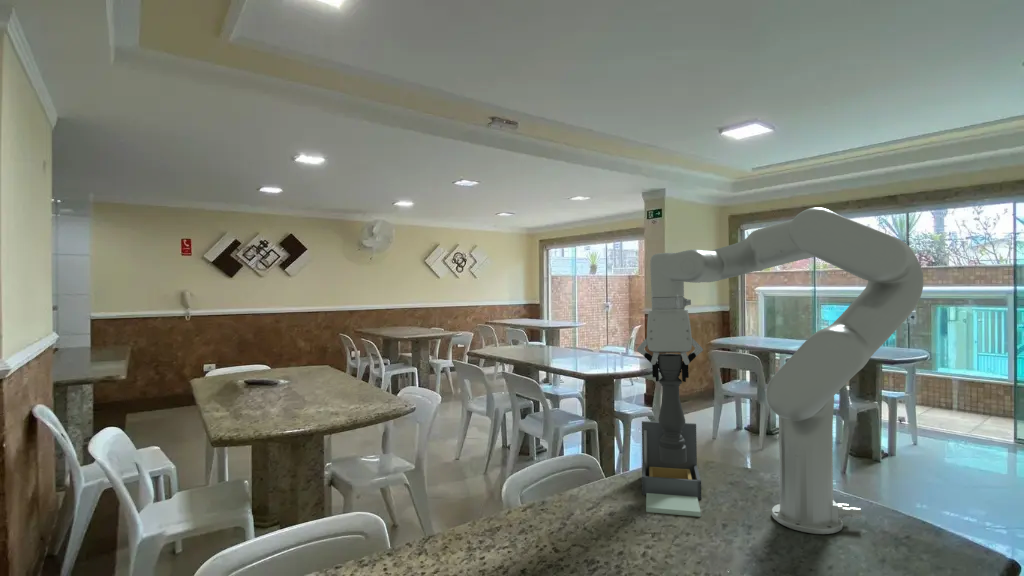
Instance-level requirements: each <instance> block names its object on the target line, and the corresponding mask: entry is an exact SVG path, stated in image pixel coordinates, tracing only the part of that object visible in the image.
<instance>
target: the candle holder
mask: <svg viewBox="0 0 1024 576" xmlns="http://www.w3.org/2000/svg"><path fill="white" fill-rule="evenodd" d="M682 361H683V359H682V356H681V353H659V355H658V358H657V364H658V369H659V374H660V375H661V377H660V378H659V381H658V382H659V384H660V385H661V386H662V389H661V390H662V392H661V393H662V398H661V399H662V400H661V405H660V410H659V415H658V422H659V424H660V426H661V428H662V429H663V430H662V431H663V433H664V434H663V435H662V437H661V438H660V441H661V444H660V445H659V454H660V461H662V462H664V463H668V464H683V463H686V462H687V452H686V446H685V445H684V443H685V440H684V438H683V437H682V435H681V433H682V431H681V430H682V429H683V428H684V426H685V423H686V419H685V418H686V417H685V414H684V411H683V406H682V404H681V399H680V386H681V385H682V384H683V381H682V378H680V376H681V374H682Z"/></svg>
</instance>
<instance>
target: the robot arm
mask: <svg viewBox="0 0 1024 576" xmlns="http://www.w3.org/2000/svg"><path fill="white" fill-rule="evenodd" d="M814 257H815V258H817V259H819V260H821V261H823V262H825V263H827V264H830V265H832V266H834V267H836V268H839V269H840V270H843V271H844V272H847V273H849V274H852V275H853V276H856V277H858V278H859V279H862V280H865V281H867V283H866V286H865V288H864V289H863V290H862V292H861V293H859V295H858V296H857V297H856V298H855V299H854V300H853V301H852V302H851V303H850V305H849V306H848V307H847V308H846V309H845V310H844V311H843V312H842V314H840V315H839V317H838V318H837V319H835V320H834V321H833V322H832V324H830V325H829V326H827V327H824V328H822V329H820V330H817V331H816V332H814V333H813V334H812V335H810V336H809V337H808V338H807V339H806V340H805V341H803V343H802V344H801V346H799V348H798V349H797V350H795V352H794V353H793V354H792V356H791V357H789V358H788V360H787V361H785V363H784V364H783V365H782V366H781V368H779V370H777V372H776V373H774V374H773V376H772V378H771V379H770V380H769V382H768V384H767V386H766V390H765V391H766V392H765V393H766V395H765V396H766V400H767V403H768V406H769V407H770V409H771V411H772V412H773V413H775V414H776V415H777V416H778V417H779V421H778V422H779V424H778V426H779V427H778V459H779V460H778V461H779V462H778V464H779V465H778V467H779V468H778V469H779V503H778V504H775V505H774V506H773V507H772V508H771V517H772V518H773V519H774V520H775V521H776V522H777V523H778V524H781V525H782V526H784V527H787V528H788V529H791V530H795V531H799V532H802V533H806V534H807V533H808V534H814V535H830V534H835V533H839V532H840V531H842V529H843V528H844V522H843V519H844V518H851V519H862V517H863V513H862V510H861V508H860V507H859V508H858V507H850V505H849V503H837V502H836V501H835V499H834V468H833V467H834V465H833V463H834V462H833V457H834V455H833V453H834V452H833V449H834V447H833V445H834V443H833V442H834V439H833V438H834V437H833V431H834V430H833V428H834V427H833V424H834V411H835V408H834V407H835V395H836V394H837V393H839V392H840V390H842V388H843V387H844V386H845V385H846V384H848V382H849V381H850V380H851V379H852V378H853V377H854V376H856V374H857V373H859V372H860V371H861V370H862V369H864V367H865V366H866V365H867V363H868V362H869V360H870V359H871V357H873V355H874V354H875V353H876V352H877V351H878V350H879V349H880V348H881V347H882V346H883V345H884V344H885V342H886V341H888V340H889V338H890V337H892V335H893V334H894V333H895V332H896V331H897V330H898V328H900V327H901V326H902V324H903V323H904V322H905V321H906V320H907V319H908V318H909V317H910V316H911V314H912V313H913V311H914V310H915V309H916V307H917V305H918V304H919V301H920V299H921V296H922V294H923V288H924V272H923V270H922V269H923V268H922V266H921V264H920V261H919V260H918V259H919V258H917V256H916V253H915V252H914V251H913V250H912V248H911V247H910V246H909V245H908V244H907V243H906V242H904V241H903V240H901V239H900V238H897V237H896V236H893V235H891V234H887V233H885V232H883V231H879V230H878V229H875V228H872V227H869V226H867V225H865V224H862V223H860V222H857V221H854V220H852V219H850V218H848V217H845V216H842V215H841V214H838V213H836V212H834V211H832V210H830V209H828V208H824V207H811V208H807V209H805V210H803V211H801V212H799V213H798V214H796V216H795V217H794V218H792V219H788V220H786V221H783V222H780V223H779V222H778V223H776V224H771V225H768V226H766V227H761V228H758V229H755V230H754V231H752V232H751V233H750V234H749V235H748V236H747V237H746V238H744V239H743V240H741V241H739V242H736V243H733V244H729V245H725V246H723V247H719V248H714V249H711V250H706V249H705V250H704V249H687V250H683V251H679V252H661V253H655V254H653V255H652V256H651V257H650V264H649V265H650V288H651V291H650V293H651V294H650V296H651V310H648V313H647V321H646V322H647V323H646V325H647V326H646V328H647V329H646V338H645V339H644V340H643V341H642V342H641V343H640V345H639V346H638V347H637V348H636V350H637V352H638V353H639V355H640V354H641V356H643V357H644V358H645V359H646V360H647V361H648V362H649V363H650V365H652V367H651V368H652V378H655V382H657V383H658V382H659V380H660V376H659V374H660V372H659V369H658V360H657V358H658V355H659V354H681V356H682V369H681V380H682V383H687V378H689V377H690V376H689V374H690V373H689V365H690V364H691V362H692V361H694V359H695V358H696V357H697V356H699V355H700V354H701V353H702V352H703V351H704V349H703V347H702V346H701V345H700V344H699V343H698V342H697V341H696V340H695V339H694V338H693V337H692V328H691V327H692V326H691V320H690V314H689V311H688V310H687V309H686V307H688V306H691V305H692V302H691V299H687V298H685V284H684V283H695V284H696V283H699V284H700V283H713V282H719V281H723V280H725V279H730V278H731V279H732V278H735V277H739V276H743V275H747V274H750V273H753V272H759V271H764V270H766V269H771V268H774V267H778V266H782V265H786V264H789V263H790V264H791V263H793V262H798V261H802V260H807V259H811V258H814ZM646 347H647V349H648V351H649V352H647V350H645V348H646ZM692 347H693V348H694V350H693V351H692V349H693V348H692ZM690 351H691V352H690ZM650 352H651V353H652V355H651V353H650ZM687 352H690V353H689V354H688V353H687ZM687 354H688V355H687Z"/></svg>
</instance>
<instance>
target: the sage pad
mask: <svg viewBox="0 0 1024 576" xmlns="http://www.w3.org/2000/svg"><path fill="white" fill-rule="evenodd" d="M645 496H646V498H645V511H646V513H654V514H655V513H656V514H665V515H676V516H677V515H678V516H687V517H688V516H689V517H700V518H701V517H702V514H701V513H702V512H701V508H700V507H701V506H700V503H699V499H698V498H697V497H690V496H678V495H665V494H653V493H646V495H645Z"/></svg>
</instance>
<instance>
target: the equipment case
mask: <svg viewBox="0 0 1024 576" xmlns="http://www.w3.org/2000/svg"><path fill="white" fill-rule="evenodd" d="M662 430H663V429H662V428H661V426H660V424H659V421H653V420H651V421H649V420H647V421H646V420H642V421H641V455H642V456H641V457H642V458H641V459H642V462H641V463H642V465H641V495H645V496H646V493H653V494H665V495H678V496H690V497H697V498H698V500H702V479H701V476H700V475H701V474H700V472H699V468H698V463H697V461H698V460H697V459H698V458H697V457H698V456H697V455H698V454H697V453H698V452H697V451H698V450H697V449H698V448H697V443H698V442H697V423H695V422H694V423H691V422H690V423H689V422H685V426H684V428H683V429H682V430H681V431H682V433H681V435H682V437H683V438H684V440H685V443H684V445H685V446H686V452H687V462H686V463H683V464H668V463H664V462H662V461H660V454H659V445H660V444H661V441H660V438H661V437H662V435H663V434H664V433H663V431H662Z"/></svg>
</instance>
